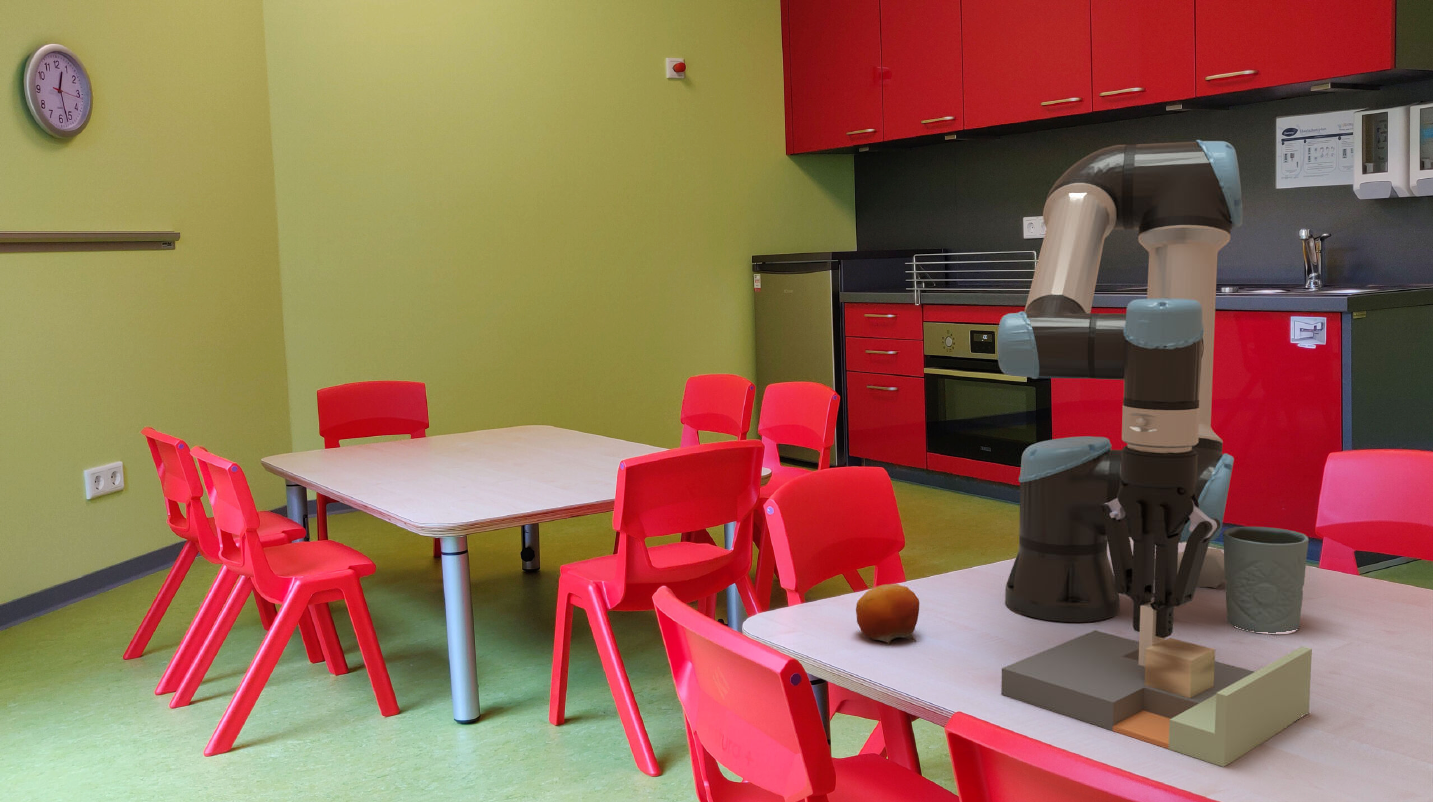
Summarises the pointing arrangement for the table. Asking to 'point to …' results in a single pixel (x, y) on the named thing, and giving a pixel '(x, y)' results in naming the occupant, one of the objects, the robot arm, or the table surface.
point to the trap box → (1163, 696)
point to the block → (1179, 667)
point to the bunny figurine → (1209, 568)
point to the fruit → (888, 612)
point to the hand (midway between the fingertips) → (1151, 663)
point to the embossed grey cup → (1264, 577)
